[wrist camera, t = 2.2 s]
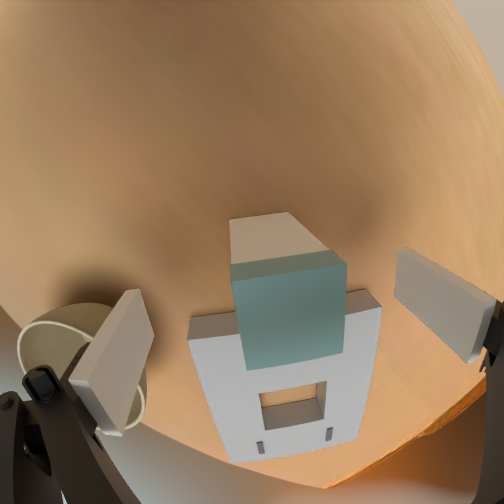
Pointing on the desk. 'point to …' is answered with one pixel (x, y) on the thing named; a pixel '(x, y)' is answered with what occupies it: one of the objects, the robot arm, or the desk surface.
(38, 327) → the flower pot
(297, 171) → the desk surface
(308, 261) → the block
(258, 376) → the outlet plate
